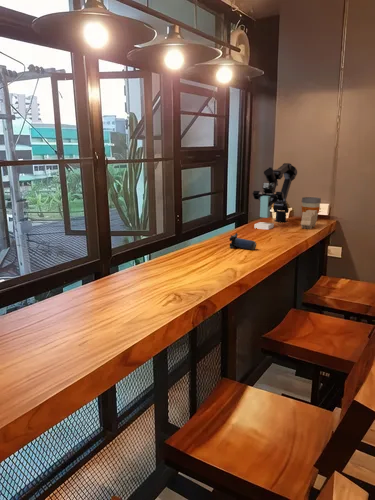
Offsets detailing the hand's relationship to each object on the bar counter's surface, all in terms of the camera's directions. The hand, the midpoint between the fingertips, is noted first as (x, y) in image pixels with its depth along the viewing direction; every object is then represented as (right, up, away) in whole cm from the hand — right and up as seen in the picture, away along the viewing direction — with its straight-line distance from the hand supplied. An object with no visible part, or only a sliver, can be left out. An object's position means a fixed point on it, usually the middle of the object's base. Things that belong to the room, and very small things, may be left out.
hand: (264, 206), depth 238 cm
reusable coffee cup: (+38, -6, +33) cm, 51 cm away
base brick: (+1, -13, +5) cm, 14 cm away
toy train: (+28, -13, +6) cm, 32 cm away
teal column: (+1, -6, +3) cm, 7 cm away
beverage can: (-20, -26, -49) cm, 59 cm away
